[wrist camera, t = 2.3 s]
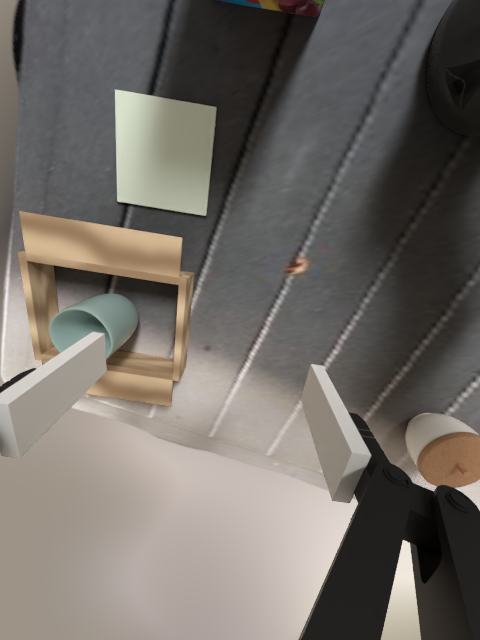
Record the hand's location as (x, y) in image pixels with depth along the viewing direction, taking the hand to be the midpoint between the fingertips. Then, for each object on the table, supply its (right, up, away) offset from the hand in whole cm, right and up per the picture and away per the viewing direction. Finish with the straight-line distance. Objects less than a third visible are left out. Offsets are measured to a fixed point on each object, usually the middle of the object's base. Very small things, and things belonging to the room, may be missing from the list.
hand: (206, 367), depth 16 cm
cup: (-17, +4, +24) cm, 29 cm away
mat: (-8, +24, +16) cm, 29 cm away
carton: (-17, +4, +23) cm, 29 cm away
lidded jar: (+36, -16, +29) cm, 49 cm away
